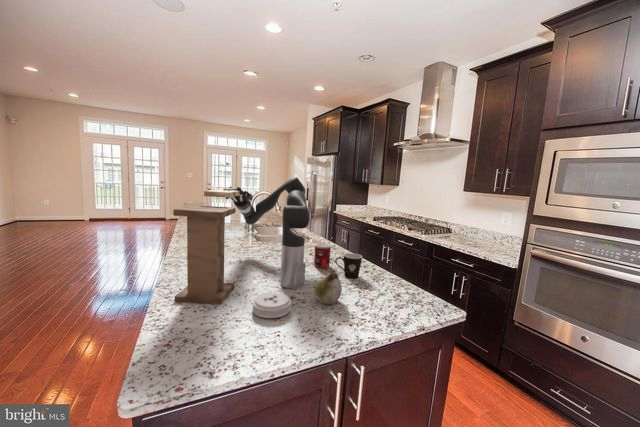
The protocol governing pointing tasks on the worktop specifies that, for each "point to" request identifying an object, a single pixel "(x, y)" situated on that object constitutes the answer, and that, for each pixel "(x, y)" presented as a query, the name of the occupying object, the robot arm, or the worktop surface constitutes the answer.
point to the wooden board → (222, 193)
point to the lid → (271, 305)
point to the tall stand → (205, 254)
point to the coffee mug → (351, 265)
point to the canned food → (322, 256)
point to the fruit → (328, 289)
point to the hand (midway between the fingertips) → (234, 188)
